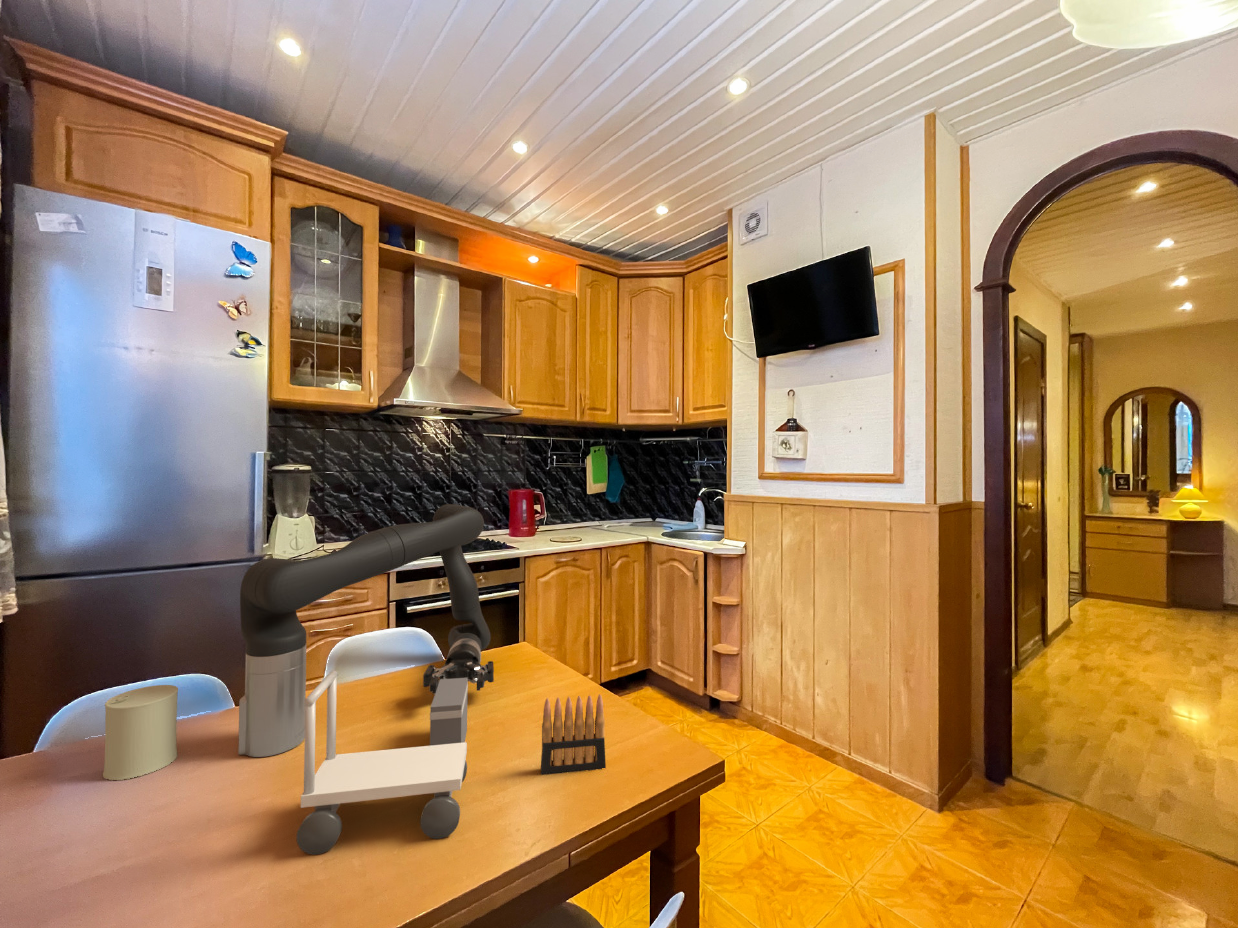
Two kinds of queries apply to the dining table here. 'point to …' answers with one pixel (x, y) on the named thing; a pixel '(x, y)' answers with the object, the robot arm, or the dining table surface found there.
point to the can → (140, 731)
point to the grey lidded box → (449, 712)
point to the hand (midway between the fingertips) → (456, 687)
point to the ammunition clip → (573, 738)
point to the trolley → (374, 779)
